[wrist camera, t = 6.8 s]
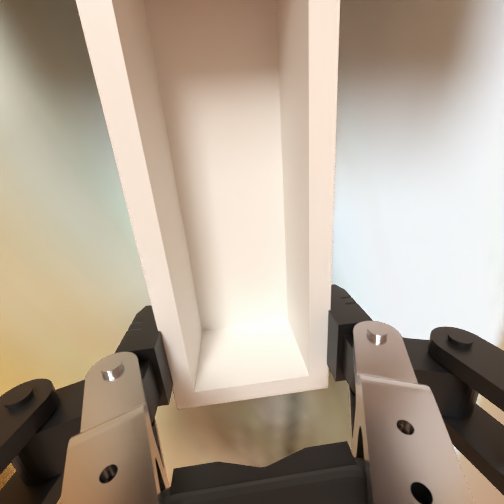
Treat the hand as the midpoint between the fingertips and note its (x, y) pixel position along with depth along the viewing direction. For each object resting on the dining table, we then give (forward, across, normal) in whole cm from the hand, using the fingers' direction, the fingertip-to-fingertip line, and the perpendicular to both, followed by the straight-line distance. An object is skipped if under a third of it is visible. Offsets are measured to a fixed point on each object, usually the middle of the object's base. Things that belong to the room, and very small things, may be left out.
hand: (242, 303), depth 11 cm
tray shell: (+1, 0, -5) cm, 5 cm away
